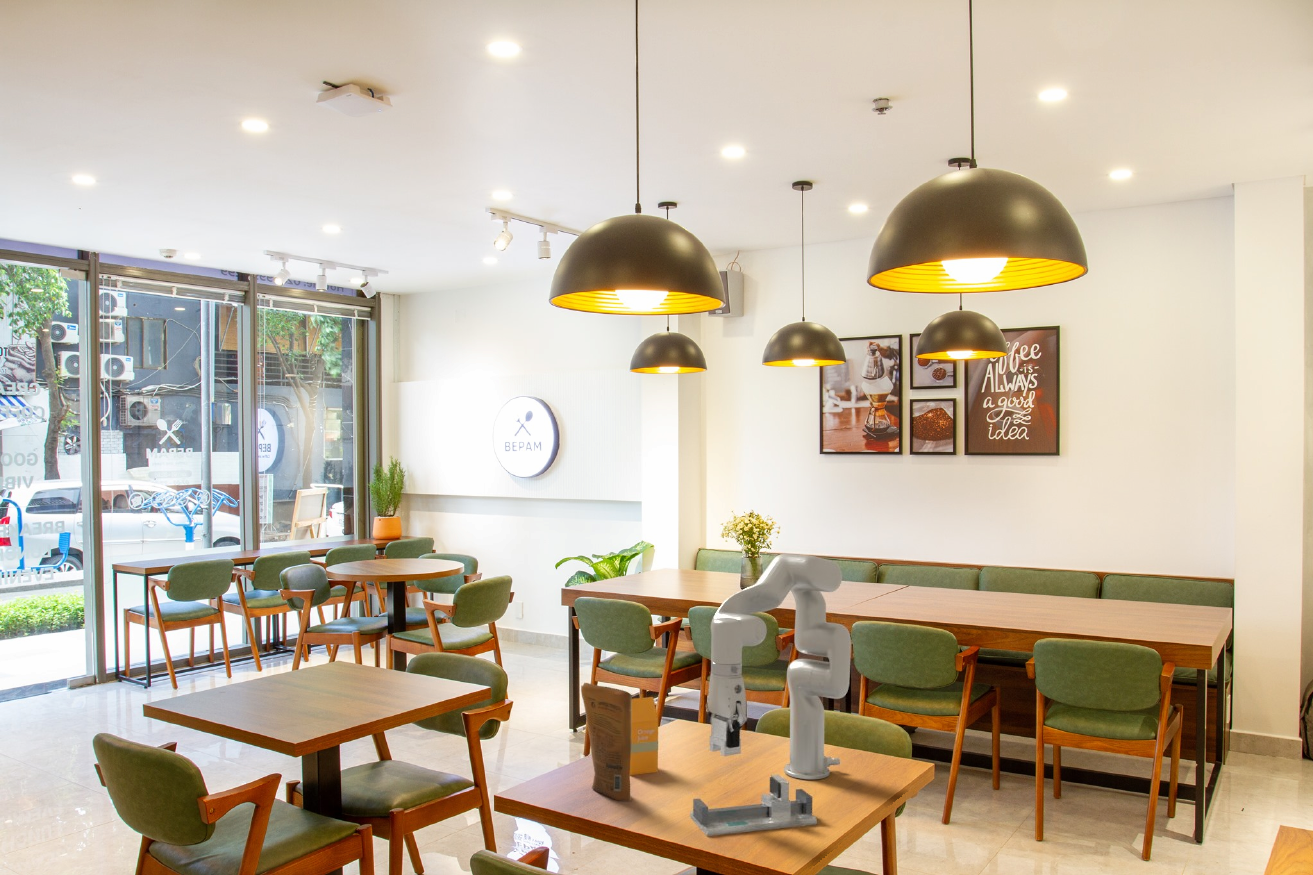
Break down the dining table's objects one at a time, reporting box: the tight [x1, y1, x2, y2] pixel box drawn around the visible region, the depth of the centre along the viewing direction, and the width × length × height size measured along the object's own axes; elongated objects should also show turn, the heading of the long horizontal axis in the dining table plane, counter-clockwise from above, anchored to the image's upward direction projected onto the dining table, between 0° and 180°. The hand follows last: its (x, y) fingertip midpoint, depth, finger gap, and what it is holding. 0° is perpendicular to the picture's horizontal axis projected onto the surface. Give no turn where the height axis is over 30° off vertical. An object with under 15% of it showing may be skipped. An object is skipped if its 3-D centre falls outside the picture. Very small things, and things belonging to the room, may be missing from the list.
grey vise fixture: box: [689, 774, 818, 837], centre depth 227 cm, size 29×12×10 cm, turn 107°
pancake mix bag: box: [580, 682, 633, 802], centre depth 245 cm, size 7×19×28 cm, turn 39°
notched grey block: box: [709, 716, 742, 757], centre depth 229 cm, size 5×6×8 cm
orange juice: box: [630, 696, 659, 776], centre depth 265 cm, size 8×9×20 cm
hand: (725, 742), depth 229 cm, fingers closed on notched grey block, 6 cm apart
